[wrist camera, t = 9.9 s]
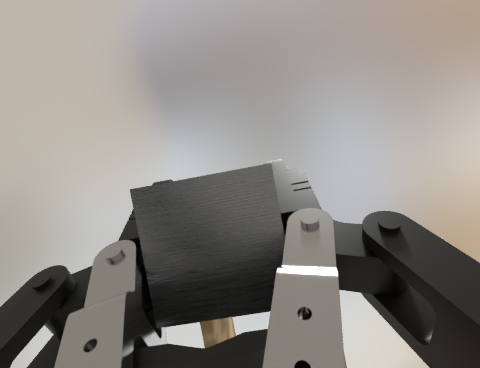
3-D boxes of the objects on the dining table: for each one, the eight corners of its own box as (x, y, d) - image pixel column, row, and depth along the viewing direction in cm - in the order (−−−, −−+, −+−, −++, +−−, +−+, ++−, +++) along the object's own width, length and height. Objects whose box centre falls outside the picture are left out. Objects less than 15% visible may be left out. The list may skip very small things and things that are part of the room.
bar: (297, 307, 8) (271, 163, 8) (156, 328, 8) (130, 189, 8) (267, 208, 30) (260, 170, 30) (230, 214, 30) (223, 177, 30)
